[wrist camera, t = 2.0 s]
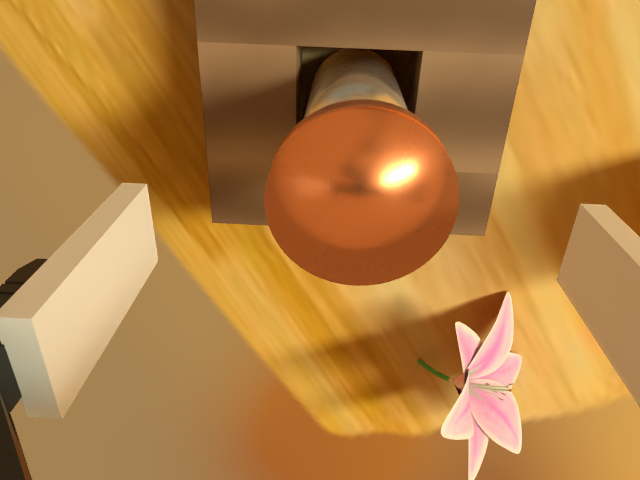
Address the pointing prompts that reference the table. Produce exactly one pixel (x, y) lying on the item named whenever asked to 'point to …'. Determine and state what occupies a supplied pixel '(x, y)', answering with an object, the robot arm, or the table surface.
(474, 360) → the lily
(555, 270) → the table surface
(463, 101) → the socket block
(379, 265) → the copper-capped cylinder
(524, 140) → the table surface
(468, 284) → the table surface
